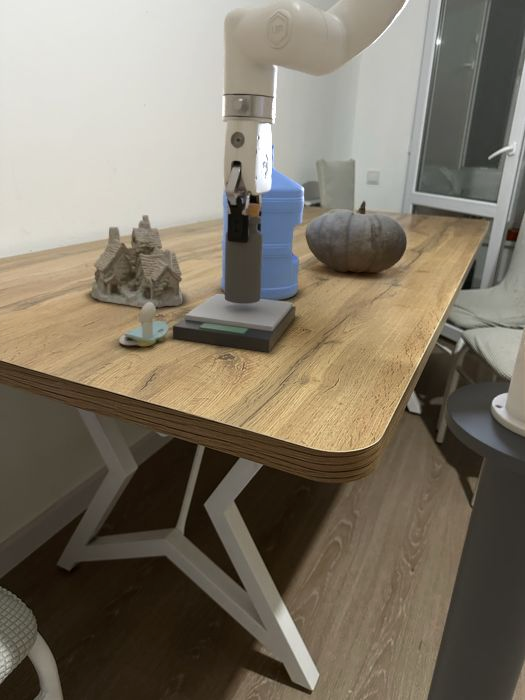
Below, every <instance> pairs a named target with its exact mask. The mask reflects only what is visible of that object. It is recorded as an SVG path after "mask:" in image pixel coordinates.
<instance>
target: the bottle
mask: <svg viewBox="0 0 525 700" xmlns="http://www.w3.org/2000/svg"><path fill="white" fill-rule="evenodd" d="M242 204H243V202H242ZM260 207H261V205H260V204H256V203H249V205H248V212H247V215H250V219H249V241H248V242H247V243H241V242H230V241H228V239H227V235H228V231H227V232H226V244H225V292H224V294H225V300H227V301H229V302H233V303H240V304H249V303H255V302H258V301H259V300H260V293H261V274H262V252H263V234H262V233H261V232H260V231H259V230H258V229H257V226H258V224H260V223H261V220H262V218H261V217H260V216H258V215H259V211H260Z"/></svg>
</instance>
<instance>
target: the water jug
mask: <svg viewBox="0 0 525 700" xmlns="http://www.w3.org/2000/svg"><path fill="white" fill-rule="evenodd" d="M274 149H275V144H271V189H270V191H269V192H267V193H264V194H262V210H261V211H262V217H261V218H262V220H261V233H262V234H263V252H262V274H261V293H260V299H268V300H276V301H283V300H287V299H290V298H291V297H292V298H293V297H294V296H296V294H297V292H298V289H299V270H300V269H299V268H300V267H299V266H300V259H299V257H298V256H297V255H296V254H294V253H293V241H294V230H295V228H296V226H299V225H301V224H302V223H303V213H304V212H303V211H304V208H305V188H304V186H302V185H301V184H300V183H297V182H296V181H294V180H293V179H292V178H290V177H288V176H286V175H284V174H283V173H281V172H280V171H278V170H277V169H275V167H274V158H275V154H274ZM242 192H243V191H242ZM227 199H228V198H227V195H226V191H225V189H224V188H223V193H222V207H223V208H222V209H223V210H222V236H221V237H222V238H221V250H222V257H221V259H222V263H221V264H222V265H221V278H220V279H221V280H220V282H221V283H220V285H221V289H222V291H223V292H224V293H225V244H226V232H227V231H228V212H227V210H228V203H227V202H228V201H227ZM241 199H242V202H243V198H241Z"/></svg>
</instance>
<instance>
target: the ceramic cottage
mask: <svg viewBox="0 0 525 700" xmlns="http://www.w3.org/2000/svg"><path fill="white" fill-rule="evenodd" d="M141 216H142V217H141V220H139V222H138V227H132V231H131V241H130V245H131V247H127V246H126V245H125V243H124V242H122V241H121V233H120V228H119V227H118V226H109V227H108V228H109V229H108V238H107V245H106V246H105V247H106V248H105V249H104V251H103V252H102V253H101V254H100V256H99V258H98V259H97V260H96V262H95V263H93V265H92V266H93V267H94V268H96V270H95V271H94V280H95V281H94V282H93V283H92V285H91V286H92V287H91V293H90V296H91V297H92V298H93V299H95V300H98V301H101V302H104V303H105V302H106V303H113V304H119V305H127V306H131V307H136V308H141V309H142V308H143V306H144V305H145V304H146V303H148V302H151V303H153V304H154V306H155V308H156V309H157V308H162V307H163V308H164V307H168V306H169V307H172V306H173V307H176V306H179V305H182V304H183V301H184V300H183V296H182V290H181V287H180V283H181V282H182V280H183V278H182V271H181V268H180V265H179V262H178V257H177V254H176V252H175V251H173V252H171V249H165V250H163V249H162V248H163V244H162V240H161V239H162V238H161V236H160V233H159V229H158V227H153V228H152V227H151V222H150V218H149V215H148V214H143V215H141Z"/></svg>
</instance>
